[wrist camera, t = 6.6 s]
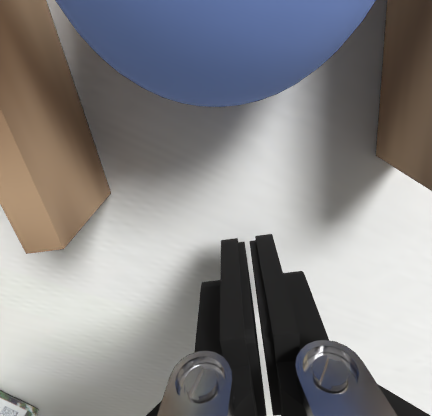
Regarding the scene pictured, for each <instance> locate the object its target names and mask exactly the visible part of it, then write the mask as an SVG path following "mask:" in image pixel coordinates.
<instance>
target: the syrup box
mask: <svg viewBox="0 0 432 416" xmlns="http://www.w3.org/2000/svg"><path fill="white" fill-rule="evenodd" d="M37 413H38V409H37V408H35V407H33V406H31V405H29V404H27V403H24V402H22V401H20V400H18V399H16V398H14V397H12V396H10V395H8V394H5V393H3V392H1V391H0V416H36V415H37Z"/></svg>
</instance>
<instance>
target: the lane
mask: <svg viewBox="0 0 432 416" xmlns="http://www.w3.org/2000/svg"><path fill="white" fill-rule="evenodd" d="M376 156H377V157H379V158H381V159H382V160H384V161H385V162H387V163H388V164H390V165H392V166H393V167H395V168H396V169H398V170H400V171H401V172H403V173H404V174H406V175H407V176H409V177H411V178H412V179H414V180H415V181H417V182H418V183H420V184H422V185H423V186H425V187H426V188H428V189H430V190H431V191H432V0H387V11H386V25H385V38H384V52H383V65H382V79H381V93H380V106H379V120H378V133H377V147H376ZM110 194H111V192H110V189H109V186H108V183H107V180H106V177H105V174H104V171H103V168H102V165H101V162H100V159H99V156H98V153H97V150H96V147H95V144H94V141H93V138H92V135H91V132H90V129H89V126H88V123H87V120H86V117H85V114H84V111H83V108H82V106H81V103H80V100H79V97H78V94H77V91H76V88H75V85H74V82H73V79H72V76H71V73H70V70H69V67H68V64H67V61H66V58H65V55H64V52H63V49H62V46H61V43H60V40H59V37H58V34H57V31H56V28H55V25H54V22H53V19H52V17H51V14H50V11H49V8H48V5H47V2H46V0H0V204H1V206H2V208H3V210H4V212H5V214H6V216H7V218H8V220H9V222H10V223H11V225H12V227H13V229H14V231H15V233H16V235H17V237H18V239H19V241H20V243H21V245H22V247H23V248H24V250H25V252H26V254H28V253H36V252H44V251H52V250H59V249H64V248H65V247H66V246H67V245H68V243H69V242H70V241H71V240H72V239H73V237H74V236H75V235H76V234H77V233H78V232H79V230H80V229H81V228H82V227H83V226H84V224H85V223H86V222H87V221H88V220H89V219H90V217H91V216H92V215H93V214H94V213H95V211H96V210H97V209H98V208H99V207H100V205H101V204H102V203H103V202H104V201H105V200H106V198H107V197H108V196H109V195H110Z"/></svg>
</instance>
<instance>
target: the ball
mask: <svg viewBox="0 0 432 416" xmlns="http://www.w3.org/2000/svg"><path fill="white" fill-rule="evenodd" d="M55 1H56V2H57V3H58V5H59V6H60V8H61V9H62V11H63V12H64V14H65V15H66V17H67V18H68V19H69V21H70V22H71V24H72V25H73V26H74V28H75V29H76V31H77V32H78V33H79V34H80V36H81V37H82V38H83V39H84V40H85V41H86V42H87V43H88V44H89V45H90V47H91V48H92V49H93V50H94V51H95V52H96V53H97V54H98V55H99V56H100V57H101V58H102V59H103V60H105V61H106V62H107V63H108V64H109V65H110V66H112V67H113V68H114V69H115V70H116V71H118V72H119V73H120V74H122V75H123V76H125V77H126V78H128V79H129V80H131V81H133V82H134V83H136V84H137V85H139V86H141V87H142V88H144V89H146V90H148V91H150V92H152V93H154V94H157V95H159V96H161V97H163V98H167V99H170V100H173V101H176V102H180V103H184V104H190V105H196V106H208V107H225V106H235V105H242V104H246V103H250V102H255V101H259V100H262V99H264V98H267V97H270V96H273V95H275V94H278V93H280V92H282V91H284V90H285V89H287V88H289V87H291V86H293V85H295V84H297V83H298V82H299V81H301V80H302V79H304V78H305V77H306V76H308V75H309V74H311V73H312V72H314V71H315V70H316V69H317V68H319V67H320V66H321V65H322V64H323V63H325V62H326V61H327V60H328V59H329V58H330V57H331V56H332V55H333V54H334V53H336V52H337V51H338V49H339V48H340V47H341V46H342V45H343V43H344V42H345V41H346V40H347V39H348V38H349V36H350V35H351V34H352V33H353V32H354V30H355V29H356V28H357V27H358V26H359V25H360V23H361V22H362V21H363V19H364V18H365V16H366V15H367V13H368V12H369V10H370V9H371V7H372V5H373V4H374V2H375V1H376V0H55Z"/></svg>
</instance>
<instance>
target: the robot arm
mask: <svg viewBox="0 0 432 416" xmlns="http://www.w3.org/2000/svg"><path fill="white" fill-rule="evenodd" d="M255 238H256V240H255V241H250V248H251V256H252V264H253V272H254V279H255V287H256V295H257V302H258V310H259V317H260V324H261V332H262V339H263V346H264V353H265V361H266V368H267V375H268V382H269V389H270V397H271V404H272V411H273V416H274V415H281V416H430V415H429V414H427V413H425V412H423V411H422V410H420V409H418V408H417V407H415V406H413V405H412V404H410V403H408V402H407V401H405V400H403V399H402V398H400V397H398V396H396V395H395V394H393V393H391V392H390V391H388V390H386V389H385V388H383V387H381V386H380V385H378V384H377V383H376V382H375V380H374V378H373V377H372V375H371V374H370V372H369V371H368V369H367V368H366V366H365V364H364V363H363V361H362V360H361V359H360V358H359V356H358V355H357V354H356V353H355V352H354V351H352V350H351V349H350V348H348V347H347V346H345V345H343V344H340V343H338V342H335V341H329V339H328V336H327V334H326V331H325V328H324V326H323V323H322V320H321V318H320V315H319V312H318V310H317V307H316V304H315V302H314V299H313V296H312V293H311V291H310V288H309V285H308V283H307V280H306V277H305V275H304V273H303V272H302V271H299V272H290V273H283V272H282V269H281V265H280V261H279V258H278V254H277V251H276V247H275V243H274V240H273V236H272V234H268V235H260V236H255ZM146 416H266V408H265V399H264V391H263V383H262V374H261V366H260V358H259V349H258V341H257V333H256V324H255V316H254V308H253V300H252V293H251V286H250V279H249V272H248V264H247V257H246V250H245V243H244V242H239V243H238V239H237V238H236V239H228V240H221V280H218V281H209V282H202V285H201V293H200V303H199V313H198V323H197V333H196V343H195V353H192V354H189V355H188V356H186V357H185V358H183V359H182V360H180V362H179V363H178V364H177V365H176V366H175V367H174V369H173V371H172V373H171V375H170V377H169V381H168V384H167V387H166V390H165V393H164V396H163V399H162V401H161V402H160V403H159V404H158V405H157V406H156V407H155V408H154V409H153V410H152V411H151V412H149V413H148V414H147V415H146Z"/></svg>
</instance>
